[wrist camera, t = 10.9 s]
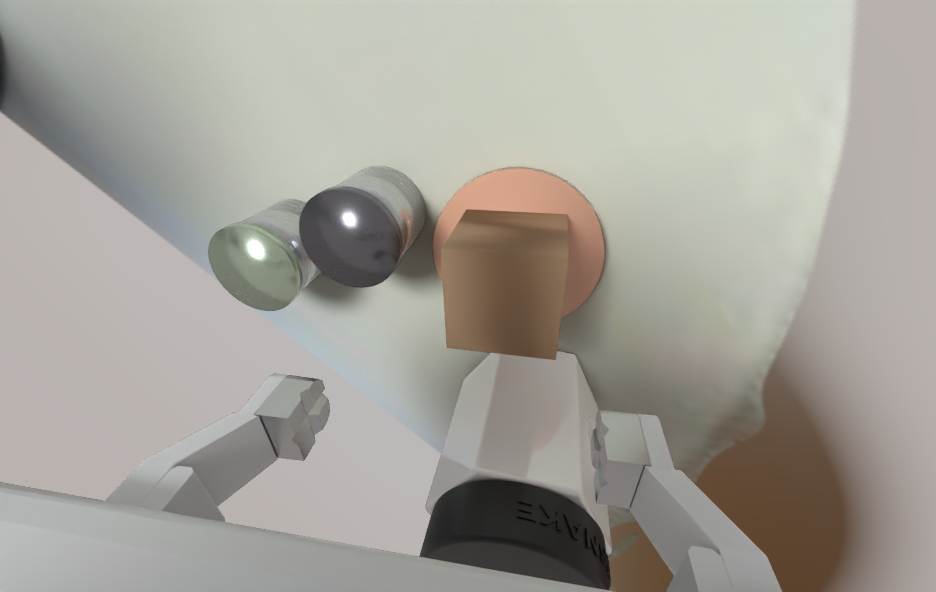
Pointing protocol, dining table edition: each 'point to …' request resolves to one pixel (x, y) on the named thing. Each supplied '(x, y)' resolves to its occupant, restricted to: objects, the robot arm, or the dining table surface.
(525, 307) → the walnut block
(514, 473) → the jar
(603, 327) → the dining table surface
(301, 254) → the tin
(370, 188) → the tin
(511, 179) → the pink glossy round part
